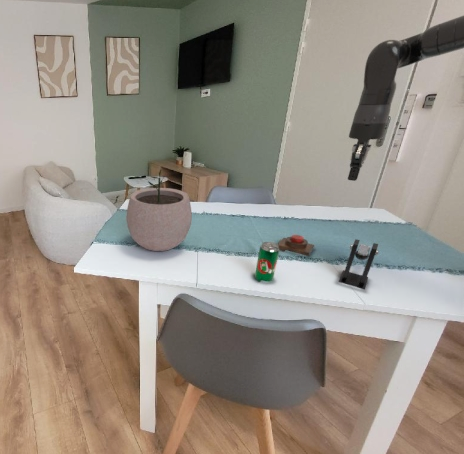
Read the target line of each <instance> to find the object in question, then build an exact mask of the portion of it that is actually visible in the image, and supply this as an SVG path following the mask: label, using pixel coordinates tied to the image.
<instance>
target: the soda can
mask: <svg viewBox="0 0 464 454" xmlns="http://www.w3.org/2000/svg"><path fill="white" fill-rule="evenodd" d="M277 244H278V243H276V242H272V241H264V242H262V243H261V244H260V246H259V250H258V255H257V261H256V266H255V272H254V279H255V280H257V281H258V282H261V281H262V282H272V281H274V276H275V272H276V268H277V264H278V259H279V255H280V250H279V248H278V247H279V246H278V245H277Z"/></svg>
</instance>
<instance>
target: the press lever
mask: <svg viewBox="0 0 464 454" xmlns="http://www.w3.org/2000/svg"><path fill="white" fill-rule="evenodd" d="M371 248H372V246H371V245H367V244H362V243H359V246H358V249H357V250H356V253H355V256H354V257H355V258H356V259H358V260H359V261H365V260H368V257H369V254H370V251H371Z"/></svg>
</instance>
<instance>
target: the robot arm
mask: <svg viewBox="0 0 464 454" xmlns="http://www.w3.org/2000/svg"><path fill="white" fill-rule="evenodd" d="M463 49H464V14H463V15H460V16H458V17H455V18H452V19H450V20H447V21H443V22H441V23H438V24H435V25H433V26H430V27H429V28H426V29H425V30H424V31H423V32H420V33H418V34H414V35H412V36H410V37H407V38H403V39H399V40H397V39H387V40H384V41H381V42H380V43H378V44H377V45H376V46H374V48H373V49H371V51H370V52H369V54H368V57H367V59H366V62H365V66H364V74H363V75H364V76H363V89H362V91H361V95H360V99H359V102H358V105H357V108H356V110H355V112H354V116H353V119H352V122H351V127H350V130H349V134H348V138H349V139H354V140H357V143H354V144H353V145H352V148H351V151H352V152H351V155H350V163H349V168H350V169H349V172H348V175H347V180H348V181H354V182H355V181H357V180H358V178H359V175H360V171H361V169H362V167H363V165H364V164H365V161H366V160H367V159H368V158H367V157H368V154H369V152H370V150H371V149H372V144H370V140H379V139H382V138H383V135H384V132H385V129H386V126H387V122H388V119H389V116H390V114H391V108H392V103H393V101H394V96H395V93H396V90H397V82H396V75H397V71H398V70H399V69H401V68H404V67H407V66H410V65H413V64H416V63H418V62H420V61H421V62H422V61H423V60H426V59H430V58H434V57H435V58H436V57H439V56H442V55H445V54H449V53H453V52H456V51H459V50H463Z"/></svg>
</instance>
